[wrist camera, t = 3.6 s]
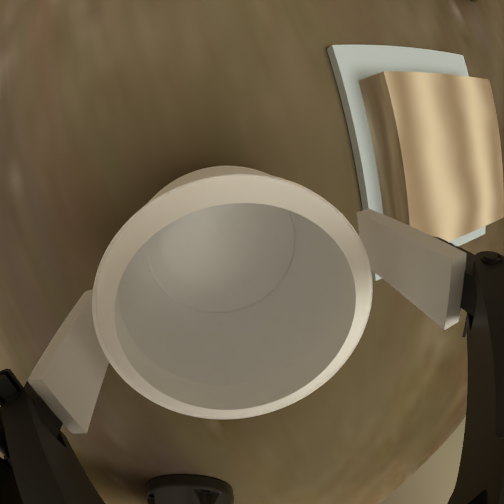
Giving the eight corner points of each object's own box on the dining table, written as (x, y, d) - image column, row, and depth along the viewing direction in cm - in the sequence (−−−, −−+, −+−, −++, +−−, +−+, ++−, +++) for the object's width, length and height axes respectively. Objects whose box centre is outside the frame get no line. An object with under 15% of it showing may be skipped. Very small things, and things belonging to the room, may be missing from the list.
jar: (185, 302, 26) (180, 443, 12) (132, 196, 22) (39, 258, 8) (296, 255, 26) (388, 360, 12) (254, 142, 22) (336, 125, 8)
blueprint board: (369, 276, 28) (375, 280, 27) (326, 49, 20) (332, 45, 19) (478, 231, 29) (485, 233, 28) (456, 56, 22) (463, 55, 21)
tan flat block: (386, 243, 26) (410, 257, 22) (358, 80, 21) (383, 71, 17) (479, 209, 27) (503, 217, 23) (463, 82, 22) (488, 79, 18)
